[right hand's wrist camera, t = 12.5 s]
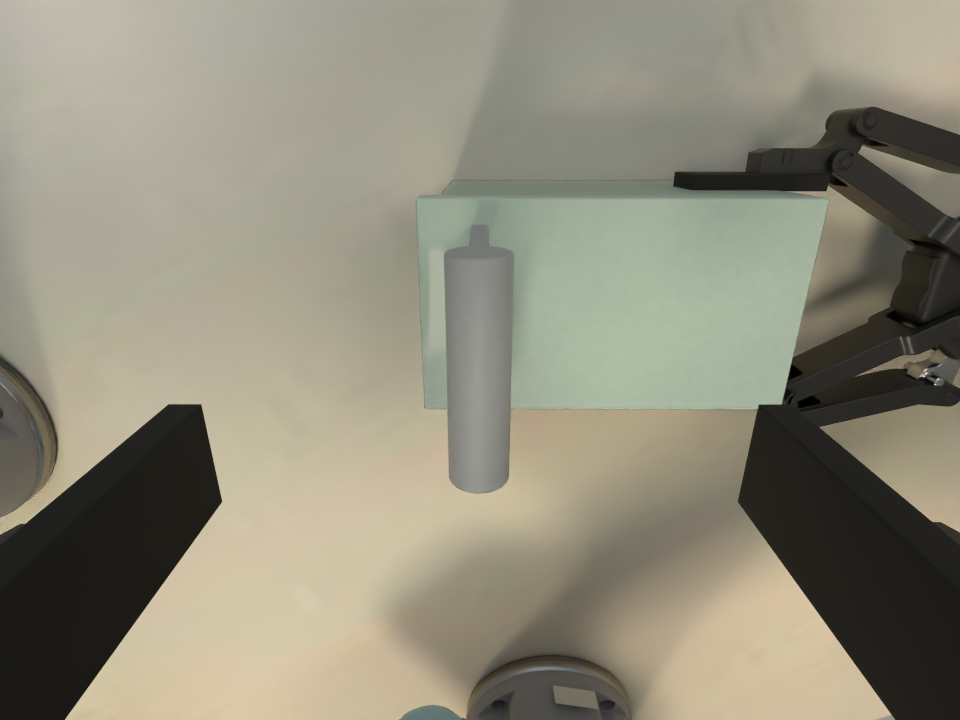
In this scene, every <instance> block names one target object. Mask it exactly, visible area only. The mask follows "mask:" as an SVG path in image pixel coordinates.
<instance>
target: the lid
mask: <svg viewBox="0 0 960 720" xmlns="http://www.w3.org/2000/svg"><path fill="white" fill-rule="evenodd" d="M828 204H829V199H828V198H823V197H816V196H442V195H421V196H419V197H417V198H416V216H417V240H418V264H419V288H420V312H421V336H422V360H423V384H424V407H425V409H448V449H449V478H450V480H451V482H452V483H453V485H454V486H455V487H457V488H459V489H460V490H463V491H466V492H470V493H488V492H492V491H495V490H498V489H499V488H501V487H503V486H504V485H505V483H506V482H507V480H508V478H509V449H510V409H724V410H758V406H759V404H782V401H783V397H784V393H785V388H786V384H787V380H788V375H789V371H790V367H791V363H792V358H793V354H794V350H795V346H796V341H797V337H798V333H799V328H800V324H801V320H802V316H803V311H804V307H805V303H806V299H807V294H808V290H809V286H810V281H811V277H812V273H813V269H814V264H815V260H816V256H817V251H818V247H819V243H820V239H821V234H822V230H823V226H824V222H825V217H826V213H827V209H828Z"/></svg>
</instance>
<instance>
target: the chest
mask: <svg viewBox="0 0 960 720" xmlns="http://www.w3.org/2000/svg"><path fill="white" fill-rule="evenodd" d="M673 184H674V180H452V182H451V183H450V184H449V186H448V187H447V188H446V189H445V191H444V192H443V193H442V194H441V195H442V196H811V195H804V194H798V193H791V192H785V191H778V190H688V189H683V188H679V187H674V186H673Z"/></svg>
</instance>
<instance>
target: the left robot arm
mask: <svg viewBox="0 0 960 720" xmlns="http://www.w3.org/2000/svg"><path fill="white" fill-rule="evenodd" d="M825 125H826V132H825V134H824V136H823V138H822V139H821V141H820V142H819V143H818V144H816V145H815V146H813V147H810V148H759V149H756V150H754V151H751V152H749V154H748V160H747V166H746V171H745V172H675V176H674V184H673V186H674V187H679V188H683V189H688V190H778V191H827V187H828V186H830V187H831V188H833V189H834V190H836V191H837V192H839V193H840V194H842V195H843V196H845V197H846V198H848V199H849V200H851V201H852V202H853V203H855V204H856V205H858V206H859V207H861V208H862V209H864V210H865V211H867V212H868V213H870V214H871V215H873V216H874V217H876V218H877V219H879V220H880V221H881V222H883V223H884V224H886V225H887V226H889V227H890V228H892V229H893V230H894V231H893V232H894V233H895V234H896V235H898V236H899V237H901V238H902V239H904V240H905V241H907V242H908V243H909V244H911V245H912V246H914V248H913V249H912V251H906V253H905V256H904V260H903V263H902V279H901V281H900V283H899V284H898V286H897V288H896V290H895V291H894V294H893V297H892V300H891V304H890V306H892V307H890V308H887V309H885V310H883V311H881V312H879V313H877V314H875V315H872V316H871V317H869V319H868V323H866V324H864V325H862V326H860V327H858V328H856V329H853V330H851V331H849V332H847V333H845V334H843V335H840V336H838V337H836V338H834V339H832V340H830V341H827V342H825V343H823V344H821V345H819V346H817V347H814V348H812V349H810V350H808V351H806V352H804V353H801V354H799V355H797V356H795V357H793V358H792V363H791V367H790V371H789V375H788V380H787V384H786V388H785V393H784V397H783V401H782V404H791V405H793V406H794V407H795V408H796V409H797V410H799V411H800V412H801V413H802V414H803V415H805V416H806V417H807V418H808V419H809V420H811V421H812V422H813V423H814V424H815V425H817V426H818V427H821V426H825V425H830V424H834V423H838V422H843V421H847V420H852V419H856V418H860V417H865V416H869V415H874V414H878V413H882V412H887V411H891V410H896V409H900V408H904V407H909V406H913V405H918V404H921V405H935V406H953V405H955V404H957V403H958V402H959V401H960V388H958V387H956V386H954V385H952V383H953V381H954V378H955V376H956V374H957V372H958V370H959V367H960V216H959V217H957V218H956V219H955V218H952V217H949V216H947V215H945V214H944V213H942V212H941V211H940V210H938V209H937V208H935V207H934V206H932V205H931V204H930V203H928V202H927V201H925V200H924V199H922V198H921V197H920V196H918V195H917V194H915V193H914V192H913V191H911V190H910V189H908V188H907V187H905V186H904V185H903V184H901V183H900V182H898V181H897V180H895V179H894V178H893V177H891V176H890V175H888V174H887V173H885V172H884V171H883V170H881V169H880V168H878V167H877V166H875V165H874V164H873V163H871V162H870V161H868V160H867V159H865V158H864V157H863V156H861V155H860V154H858V151H859V150H860V148H861V146H862V145H863V146H866V147H869V148H872V149H875V150H878V151H881V152H884V153H887V154H891V155H894V156H897V157H900V158H903V159H906V160H909V161H912V162H915V163H918V164H922V165H925V166H928V167H931V168H934V169H937V170H940V171H944V172H948V173H955V174H960V135H958V134H955V133H952V132H949V131H946V130H943V129H940V128H937V127H934V126H931V125H928V124H925V123H922V122H919V121H916V120H913V119H910V118H907V117H904V116H901V115H898V114H895V113H892V112H889V111H886V110H883V109H880V108H877V107H866V108H856V109H845V110H838V111H835V112H833V113H832V114H831V115H830V116H829V117H828V119H827V121H826V124H825ZM929 349H932V350H933V351H934V352H933V354H932V356H931V357H930V358H928V359H927V360H925V361H920V362H916V363H913V362H907V363H906V364H905V365H904V369H888V370H883V371H878V372H874V373H869V374H865V375H861V376H857V375H859V374H861V373H863V372H865V371H868V370H870V369H872V368H874V367H877V366H879V365H881V364H883V363H886V362H888V361H890V360H892V359H895V358H897V357H899V356H902V355H916V354H920V353H923V352H925V351H927V350H929ZM854 376H857V377H854ZM399 720H632V716H631V711H630V707H629V704H628V700H627V697H626V694H625V692H624V690H623V688H622V686H621V685H620V684H619V682H618V681H617V680H616V679H615V678H614V677H613V676H612V675H611V674H609V673H608V672H607V671H605V670H604V669H602V668H600V667H598V666H596V665H594V664H592V663H589V662H586V661H584V660H580V659H576V658H571V657H563V656H540V657H532V658H527V659H523V660H519V661H516V662H513V663H510V664H508V665H505V666H503V667H501V668H499V669H497V670H496V671H494V672H493V673H491V674H490V675H488V676H487V677H486V678H485V679H484V680H483V681H482V682H481V683H480V684H479V685H478V686H477V687H476V689H475V690H474V692H473V693H472V695H471V697H470V700H469V703H468V707H467V719H465V718H460V717H459V716H458V715H456V714H455V713H454V712H452V711H451V710H449V709H448V708H445V707H442V706H437V705H429V706H422V707H419V708H416V709H414V710H411V711H409V712H408V713H406V714H405V715H404V716H403V717H402V718H400V719H399Z"/></svg>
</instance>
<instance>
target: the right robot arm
mask: <svg viewBox="0 0 960 720" xmlns="http://www.w3.org/2000/svg"><path fill="white" fill-rule="evenodd" d="M55 457H56V442H55V435H54V431H53V427H52V424H51V422H50V419H49V417H48V414H47V412H46V410H45V408H44V406H43V405H42V403H41V401H40V400H39V398H38V397H37V395H36V394H35V392H34V391H33V390H32V389H31V387H30V386H29V385H28V384H27V382H26V381H25V380H24V379H23V378H22V377H21V376H20V375H19V374H18V373H17V372H16V371H15V370H14V369H12V368H11V367H10V366H9V365H8V364H7V363H5V362H4V361H3V360H1V359H0V518H1V517H3V516H5V515H7V514H9V513H11V512H12V511H14V510H16V509H17V508H18V507H20V506H21V505H22V504H24V503H25V502H26V501H27V500H29V499H30V498H31V497H32V496H34V495H35V494H36V493H37V492H38V491H39V490H40V489H41V488H42V487H43V486H44V485H45V483H46V482H47V480H48V479H49V477H50V475H51V473H52V470H53V467H54V463H55ZM221 503H222V499H221V494H220V490H219V485H218V480H217V476H216V471H215V466H214V462H213V457H212V453H211V448H210V443H209V439H208V434H207V429H206V425H205V420H204V415H203V411H202V406H201V404H169V405H167V406H166V407H165V408H164V409H163V410H161V411H160V412H159V413H158V414H157V415H155V416H154V417H153V418H152V419H151V420H149V421H148V422H147V423H146V424H145V425H143V426H142V427H141V428H140V429H139V430H137V431H136V432H135V433H134V434H133V435H131V436H130V437H129V438H128V439H127V440H125V441H124V442H123V443H122V444H121V445H119V446H118V447H117V448H116V449H115V450H113V451H112V452H111V453H110V454H109V455H108V456H106V457H105V458H104V459H103V460H102V461H100V462H99V463H98V464H97V465H96V466H94V467H93V468H92V469H91V470H90V471H88V472H87V473H86V474H85V475H84V476H82V477H81V478H80V479H79V480H78V481H76V482H75V483H74V484H73V485H72V486H70V487H69V488H68V489H67V490H66V491H64V492H63V493H62V494H61V495H60V496H58V497H57V498H56V499H55V500H54V501H52V502H51V503H50V504H49V505H48V506H46V507H45V508H44V509H43V510H42V511H40V512H39V513H38V514H37V515H36V516H34V517H33V518H32V519H31V520H30V521H28V522H27V523H26V524H19V525H18V526H16V527H14V528H12V529H10V530H8V531H7V532H5V533H3V534H1V535H0V720H65V719H66V717H67V716H68V714H69V713H70V712H71V710H72V709H73V707H74V706H75V705H76V703H77V702H78V701H79V699H80V698H81V696H82V695H83V694H84V692H85V691H86V689H87V688H88V687H89V685H90V684H91V683H92V681H93V680H94V678H95V677H96V676H97V674H98V673H99V671H100V670H101V669H102V667H103V666H104V665H105V663H106V662H107V660H108V659H109V658H110V656H111V655H112V653H113V652H114V651H115V649H116V648H117V647H118V645H119V644H120V642H121V641H122V640H123V638H124V637H125V635H126V634H127V633H128V631H129V630H130V629H131V627H132V626H133V624H134V623H135V622H136V620H137V619H138V617H139V616H140V615H141V613H142V612H143V611H144V609H145V608H146V606H147V605H148V604H149V602H150V601H151V599H152V598H153V597H154V595H155V594H156V593H157V591H158V590H159V588H160V587H161V586H162V584H163V583H164V581H165V580H166V579H167V577H168V576H169V575H170V573H171V572H172V570H173V569H174V568H175V566H176V565H177V563H178V562H179V561H180V559H181V558H182V557H183V555H184V554H185V552H186V551H187V550H188V548H189V547H190V545H191V544H192V543H193V541H194V540H195V539H196V537H197V536H198V534H199V533H200V532H201V530H202V529H203V527H204V526H205V525H206V523H207V522H208V521H209V519H210V518H211V516H212V515H213V514H214V512H215V511H216V509H217V508H218V507H219V505H220V504H221ZM738 503H739V504H740V505H741V507H742V508H743V509H744V511H745V512H746V514H747V515H748V516H749V518H750V519H751V521H752V522H753V523H754V525H755V526H756V527H757V529H758V530H759V532H760V533H761V534H762V536H763V537H764V539H765V540H766V541H767V543H768V544H769V545H770V547H771V548H772V550H773V551H774V552H775V554H776V555H777V557H778V558H779V559H780V561H781V562H782V563H783V565H784V566H785V568H786V569H787V570H788V572H789V573H790V575H791V576H792V577H793V579H794V580H795V581H796V583H797V584H798V586H799V587H800V588H801V590H802V591H803V593H804V594H805V595H806V597H807V598H808V599H809V601H810V602H811V604H812V605H813V606H814V608H815V609H816V611H817V612H818V613H819V615H820V616H821V617H822V619H823V620H824V622H825V623H826V624H827V626H828V627H829V629H830V630H831V631H832V633H833V634H834V635H835V637H836V638H837V640H838V641H839V642H840V644H841V645H842V647H843V648H844V649H845V651H846V652H847V653H848V655H849V656H850V658H851V659H852V660H853V662H854V663H855V665H856V666H857V667H858V669H859V670H860V671H861V673H862V674H863V676H864V677H865V678H866V680H867V681H868V683H869V684H870V685H871V687H872V688H873V689H874V691H875V692H876V694H877V695H878V696H879V698H880V699H881V701H882V702H883V703H884V705H885V706H886V707H887V709H888V710H889V712H890V713H891V714H892V716H893V717H894V718H895V720H960V533H959V532H958V531H956V530H954V529H952V528H950V527H948V526H947V525H945V524H943V523H941V522H932V521H930V520H929V519H928V518H927V517H926V516H924V515H923V514H922V513H921V512H920V511H918V510H917V509H916V508H915V507H914V506H912V505H911V504H910V503H909V502H908V501H906V500H905V499H904V498H903V497H902V496H900V495H899V494H898V493H897V492H896V491H894V490H893V489H892V488H891V487H890V486H888V485H887V484H886V483H885V482H884V481H882V480H881V479H880V478H879V477H878V476H876V475H875V474H874V473H873V472H872V471H870V470H869V469H868V468H867V467H866V466H864V465H863V464H862V463H861V462H860V461H858V460H857V459H856V458H855V457H854V456H852V455H851V454H850V453H849V452H848V451H847V450H845V449H844V448H843V447H842V446H841V445H839V444H838V443H837V442H836V441H835V440H833V439H832V438H831V437H830V436H829V435H827V434H826V433H825V432H824V431H823V430H821V429H820V428H819V427H818V426H817V425H815V424H814V423H813V422H812V421H811V420H809V419H808V418H807V417H806V416H805V415H803V414H802V413H801V412H800V411H799V410H797V409H796V408H795V407H794V406H793V405H791V404H759V406H758V411H757V415H756V420H755V425H754V429H753V434H752V439H751V443H750V448H749V453H748V457H747V462H746V466H745V471H744V476H743V480H742V485H741V490H740V494H739V499H738Z"/></svg>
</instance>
